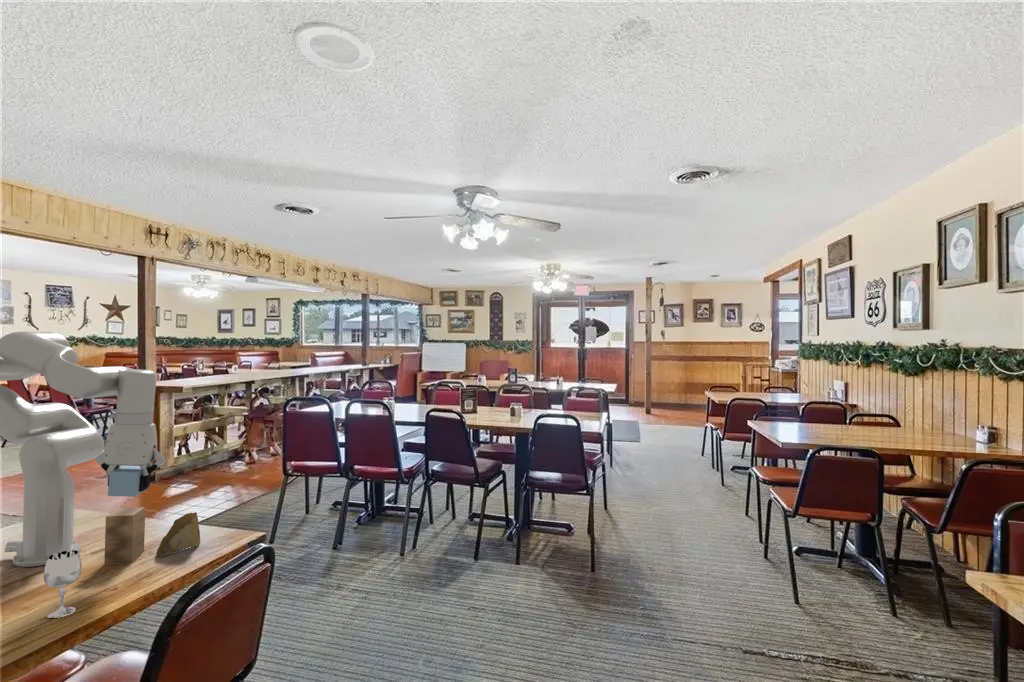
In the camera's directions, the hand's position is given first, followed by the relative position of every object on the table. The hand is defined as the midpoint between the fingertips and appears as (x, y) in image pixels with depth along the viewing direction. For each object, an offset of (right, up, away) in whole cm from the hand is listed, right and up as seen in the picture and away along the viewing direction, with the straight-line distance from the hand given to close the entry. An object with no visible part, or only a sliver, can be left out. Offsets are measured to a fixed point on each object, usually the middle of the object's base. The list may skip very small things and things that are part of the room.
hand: (128, 489), depth 124 cm
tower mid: (-2, -12, +2) cm, 13 cm away
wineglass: (+4, -19, -23) cm, 30 cm away
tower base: (-3, -18, +2) cm, 19 cm away
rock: (+7, -19, +8) cm, 22 cm away
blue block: (0, -1, 0) cm, 1 cm away
